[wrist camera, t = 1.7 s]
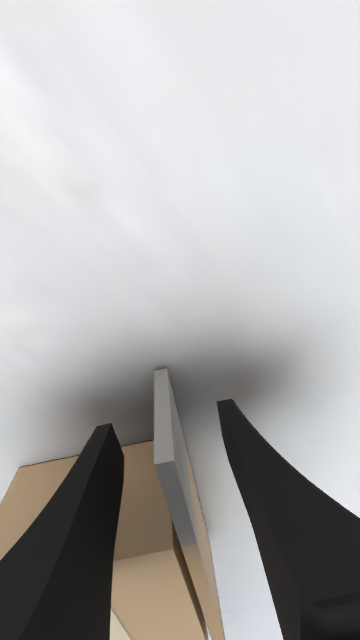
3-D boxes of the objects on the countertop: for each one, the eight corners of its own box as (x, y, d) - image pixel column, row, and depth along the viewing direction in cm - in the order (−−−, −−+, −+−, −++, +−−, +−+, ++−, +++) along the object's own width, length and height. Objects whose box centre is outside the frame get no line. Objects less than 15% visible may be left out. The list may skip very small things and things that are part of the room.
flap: (209, 540, 18) (226, 646, 14) (200, 542, 18) (214, 648, 14) (167, 367, 12) (174, 460, 8) (154, 370, 12) (153, 464, 8)
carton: (196, 540, 19) (210, 655, 14) (81, 564, 19) (57, 686, 14) (167, 437, 14) (173, 551, 10) (18, 467, 14) (-47, 597, 10)
